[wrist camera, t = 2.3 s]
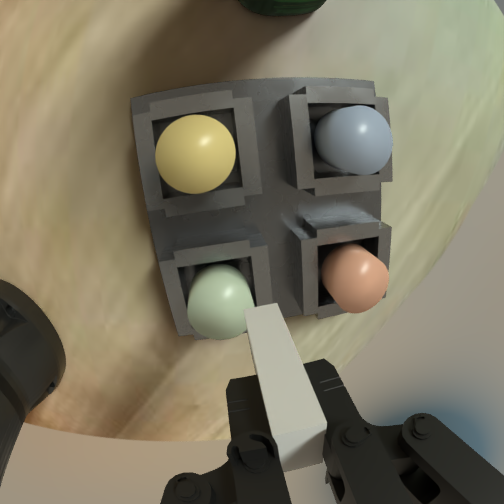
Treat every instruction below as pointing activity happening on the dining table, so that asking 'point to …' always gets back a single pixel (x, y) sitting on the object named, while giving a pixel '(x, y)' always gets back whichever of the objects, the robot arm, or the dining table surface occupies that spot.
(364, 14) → the dining table surface
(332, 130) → the slate button
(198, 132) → the mustard button
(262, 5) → the coffee jar
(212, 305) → the sage button
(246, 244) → the button panel
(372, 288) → the terracotta button
